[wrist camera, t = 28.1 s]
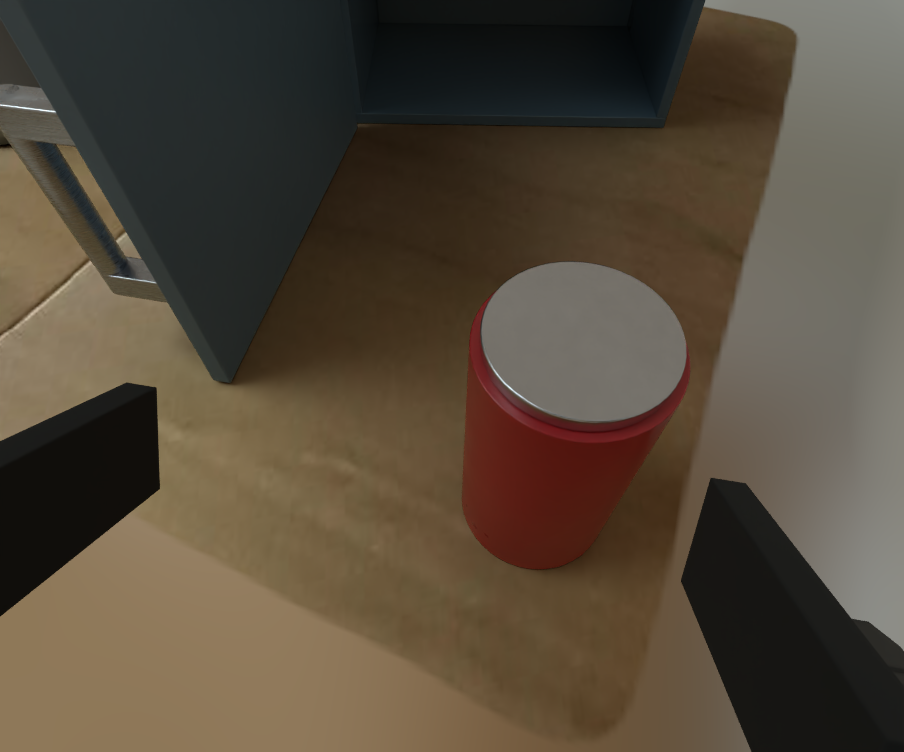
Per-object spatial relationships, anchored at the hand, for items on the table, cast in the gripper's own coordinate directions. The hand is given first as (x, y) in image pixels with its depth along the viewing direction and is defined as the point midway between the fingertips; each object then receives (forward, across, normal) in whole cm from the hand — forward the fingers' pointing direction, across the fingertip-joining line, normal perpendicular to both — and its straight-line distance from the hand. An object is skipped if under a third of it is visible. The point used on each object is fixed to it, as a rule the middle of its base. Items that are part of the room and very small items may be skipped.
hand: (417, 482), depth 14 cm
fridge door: (+25, -15, +3) cm, 29 cm away
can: (+12, +4, -6) cm, 14 cm away
